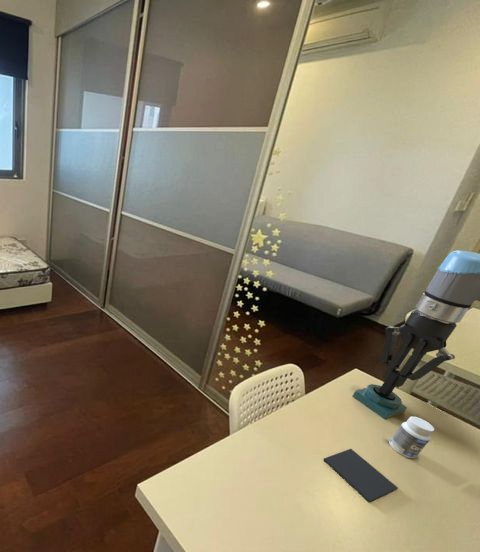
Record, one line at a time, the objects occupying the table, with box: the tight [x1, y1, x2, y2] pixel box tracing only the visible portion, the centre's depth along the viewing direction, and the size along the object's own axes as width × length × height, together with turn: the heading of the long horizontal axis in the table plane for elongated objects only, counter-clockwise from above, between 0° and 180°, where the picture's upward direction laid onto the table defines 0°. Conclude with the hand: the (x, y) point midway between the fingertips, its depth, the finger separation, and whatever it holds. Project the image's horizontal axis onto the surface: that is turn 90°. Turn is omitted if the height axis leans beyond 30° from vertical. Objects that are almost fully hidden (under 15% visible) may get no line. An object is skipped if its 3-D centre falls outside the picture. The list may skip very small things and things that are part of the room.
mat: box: [323, 448, 399, 503], centre depth 66 cm, size 9×9×1 cm
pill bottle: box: [388, 416, 435, 459], centre depth 71 cm, size 5×5×8 cm
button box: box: [352, 383, 408, 420], centre depth 85 cm, size 8×8×4 cm
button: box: [374, 387, 395, 400], centre depth 85 cm, size 4×4×2 cm
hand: (384, 391), depth 84 cm, fingers closed
